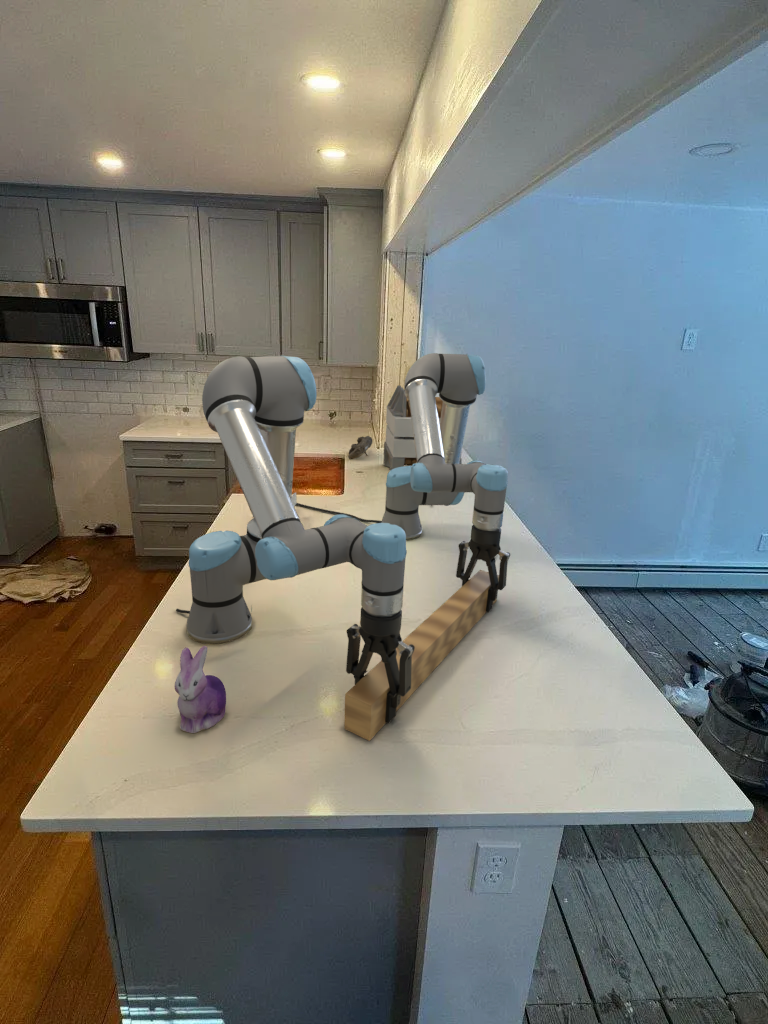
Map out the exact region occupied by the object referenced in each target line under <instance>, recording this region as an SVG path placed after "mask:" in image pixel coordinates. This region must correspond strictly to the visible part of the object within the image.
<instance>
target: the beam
mask: <svg viewBox="0 0 768 1024" xmlns="http://www.w3.org/2000/svg"><path fill="white" fill-rule="evenodd" d="M497 576H498V582H499V574H497ZM469 579H470V580H468V581H467V582H466V583H465V584H464V585H463V586H462V585H461V587H460V588H458V590H456V591H455V592H454V593H453V594H452V595H451V596H450V597H449V598H447V600H446V601H444V602H443V603H442V604H441V605H440V606H439V607H438V608H437V609H436V610H435V611H433V612H432V613H431V614H430V615H429V616H428V617H427V618H426V619H425V620H424V621H422V623H420V624H419V625H418V626H417V627H416V628H415V629H414V630H412V632H411V633H410V634H408V635H407V636H406V637H405V638H404V639H402V642H403V643H405V644H406V645H408V646H409V645H410V644H412V645H414V647H415V649H414V652H413V654H412V669H411V689H410V690H409V691H408V692H407V694H406V695H405V696H401V701H400V705H399V706H398V707H397V708H396V712H398V710H399V709H400V708H401V707H402V706H403V705H404V704H405V703H406V702H407V700H408V699H409V698H410V697H411V696H413V694H414V693H415V692H416V690H418V688H419V687H420V686H421V685H422V684H423V683H424V682H425V681H426V680H427V679H428V677H430V675H431V674H432V673H433V672H434V671H435V670H436V668H437V667H439V665H440V664H441V663H442V662H443V661H444V660H445V659H446V658H447V656H448V655H449V654H451V652H452V651H453V650H454V649H455V648H456V647H457V646H458V644H459V643H460V642H461V641H462V640H463V639H464V637H465V636H466V635H468V633H469V632H470V631H472V629H473V628H474V627H475V626H476V625H477V623H479V621H480V620H481V619H482V618H483V617H484V616H485V615H486V613H487V612H486V606H487V597H488V590H489V589H490V587H491V583H490V578H489V572H488V570H487V571H486V570H483V569H479V570H478V571H477V572H476V573H475V574H474V575H473V576H472V577H470V578H469ZM497 599H498V597H497V598H496V600H495V601H493V605H494V604H496V603H497V601H498V600H497ZM396 651H397V655H396V659H397V663H398V668H399V662H400V657H401V656H399V648H398V647H397V648H396ZM389 691H390V687H389V683H388V678H387V674H386V669H385V665H384V662H382V659H381V660H380V661H379V662H378V663H377V664H376V665H375V666H374V667H372V669H370V670H369V671H367V672H366V673H365V674H364V677H363V678H362V679H361V680H360V681H359V682H357V683H356V684H355V683H354V685H353V686H352V687H351V688H350V689H349V690H347V691H346V692H345V694H344V720H343V721H344V722H343V723H344V724H343V725H344V727H343V728H344V730H346V731H348V732H350V733H352V734H354V735H356V736H358V737H360V738H363V739H364V740H367V741H369V742H370V741H371V740H372V739H373V738H374V737H375V736H376V735H377V734H378V733H379V731H380V730H381V729H382V728H383V727H384V726H385V725H386V724H387V723H386V722H385V718H386V700H387V693H388V692H389Z"/></svg>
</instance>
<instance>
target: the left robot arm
mask: <svg viewBox="0 0 768 1024" xmlns="http://www.w3.org/2000/svg"><path fill="white" fill-rule="evenodd" d="M317 395H318V394H317V384H316V380H315V377H314V374H313V372H312V370H311V368H310V366H309V365H308V363H307V362H306V361H305V360H304V359H302V358H300V357H297V356H287V355H283V354H282V355H267V356H265V355H264V356H233V357H230V358H226V359H225V360H223V361H221V362H219V363H218V364H217V365H216V366H214V367H213V368H212V370H211V371H210V373H209V374H208V376H207V378H206V380H205V382H204V384H203V390H202V395H201V403H202V411H203V415H204V417H205V420H206V422H207V425H208V427H209V428H210V430H211V431H213V432H215V433H217V434H218V437H219V440H220V442H221V444H222V447H223V449H224V451H225V454H226V456H227V458H228V461H229V463H230V465H231V468H232V470H233V473H234V475H235V478H236V480H237V482H238V484H239V488H240V487H241V488H240V489H241V491H242V494H243V497H244V498H245V500H246V503H247V505H248V508H249V510H250V513H251V515H252V517H253V518H252V519H250V520H249V521H248V522H247V524H246V534H243V535H239V533H238V532H237V531H233V530H224V531H223V530H216V531H211V532H208V533H206V534H203V535H202V536H199V537H198V538H196V539H195V540H194V541H193V542H192V543H191V545H190V546H189V549H188V567H189V575H190V587H191V589H190V590H191V599H192V600H191V601H192V602H191V606H190V610H188V609H187V610H185V609H179V608H176V609H175V611H176V612H177V613H181V614H188V617H187V619H186V625H185V626H186V634H187V636H188V638H190V639H191V640H193V641H195V642H197V643H201V644H206V645H220V644H227V643H231V642H234V641H237V640H239V639H241V638H243V637H245V636H246V635H247V634H248V633H249V632H250V631H251V630H252V626H253V618H252V611H253V605H251V606H250V609H249V607H248V604H247V602H246V600H245V598H244V586H245V585H249V584H252V583H256V582H259V581H263V580H269V581H278V580H283V579H289V578H291V579H292V578H294V577H297V576H299V575H302V574H306V573H310V572H314V571H317V570H320V569H321V570H322V569H326V568H329V567H333V566H336V565H341V564H344V563H349V564H351V565H353V566H354V567H355V568H357V569H359V570H361V592H360V593H361V595H360V596H361V597H360V606H361V607H360V618H359V619H360V621H359V624H360V626H359V625H358V624H357V623H354V624H352V625H351V626H349V628H347V629H346V636H347V640H348V641H347V651H346V652H347V653H346V665H345V672H346V673H347V675H352V676H353V678H354V685H355V684H356V683H357V682H359V681H360V680H361V679H362V678H363V677H364V676H365V675H366V674H367V673H368V668H369V665H370V663H371V660H372V657H373V655H374V654H377V655H379V656H380V659H381V660H382V662H384V665H385V669H386V674H387V678H388V683H389V687H390V691H389V692H388V693H387V700H386V718H385V722H386V724H388V725H389V724H390V723H391V722H392V721H393V720H394V718H395V717H396V716H397V711H396V708H397V707H398V706H399V705H400V701H401V696H405V695H406V694H407V692H408V691H409V690H410V689H411V669H412V654H413V652H414V649H415V647H414V645H412V644H410V645H409V646H408V645H406V644H405V643H403V642H402V641H403V639H402V636H401V628H402V619H403V610H402V609H403V601H404V585H405V571H406V570H405V569H406V557H407V554H408V553H407V540H406V534H405V531H404V530H403V529H402V528H401V527H399V526H397V525H391V524H389V523H371V524H368V525H367V524H366V523H365V522H364V523H363V521H359V520H357V519H355V518H352V517H349V516H347V515H344V514H334V515H333V516H331V517H330V518H329V519H327V520H326V521H325V522H324V524H323V525H322V526H318V527H317V526H316V527H311V528H305V527H304V525H303V523H302V521H301V519H300V517H299V514H298V512H297V510H296V508H295V506H293V503H292V501H291V497H292V495H293V481H294V480H293V479H294V466H295V451H296V436H297V435H296V434H297V428H299V427H300V426H301V425H303V424H304V418H305V412H308V411H310V410H312V409H313V408H314V406H315V404H316V402H317ZM361 639H362V641H363V643H364V644H363V647H362V650H361V649H360V648H361ZM397 647H398V648H399V656H401V657H400V662H399V668H398V663H397V659H396V655H397V651H396V648H397ZM360 650H361V655H360Z"/></svg>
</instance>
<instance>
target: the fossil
mask: <svg viewBox="0 0 768 1024" xmlns="http://www.w3.org/2000/svg"><path fill="white" fill-rule="evenodd" d="M356 442H357V443H352V444H351V446H350V449H349V450H348V455H347V457H348V459H349V460H354V459H357V458H360V457H361V456H362V455H365V456H368V454H367V450H368V449H369V448H371V446H372V445H373V438H372V437H371V436H370V435H366V436H359V437H357V439H356Z"/></svg>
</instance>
